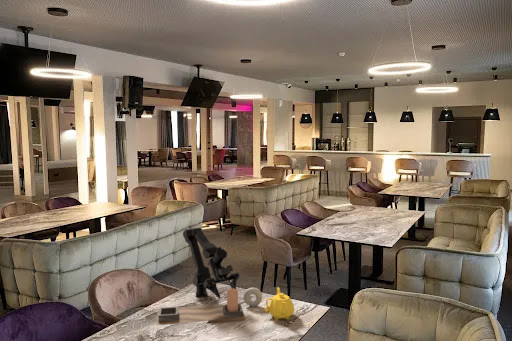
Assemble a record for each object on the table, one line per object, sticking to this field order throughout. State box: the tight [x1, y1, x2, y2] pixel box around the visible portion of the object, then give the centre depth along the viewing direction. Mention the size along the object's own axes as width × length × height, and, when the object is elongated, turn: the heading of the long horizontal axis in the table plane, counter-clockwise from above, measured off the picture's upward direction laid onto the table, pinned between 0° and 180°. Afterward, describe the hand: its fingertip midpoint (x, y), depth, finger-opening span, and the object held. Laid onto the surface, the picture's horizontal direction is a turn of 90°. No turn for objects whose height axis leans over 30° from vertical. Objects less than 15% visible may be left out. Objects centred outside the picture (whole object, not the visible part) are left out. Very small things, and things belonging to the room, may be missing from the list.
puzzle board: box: [155, 303, 246, 326], centre depth 204 cm, size 17×42×4 cm, turn 100°
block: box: [226, 288, 239, 312], centre depth 203 cm, size 4×4×12 cm
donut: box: [242, 287, 263, 307], centre depth 216 cm, size 10×4×10 cm, turn 89°
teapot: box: [264, 286, 295, 321], centre depth 204 cm, size 20×15×12 cm
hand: (227, 295), depth 206 cm, fingers open, 9 cm apart
